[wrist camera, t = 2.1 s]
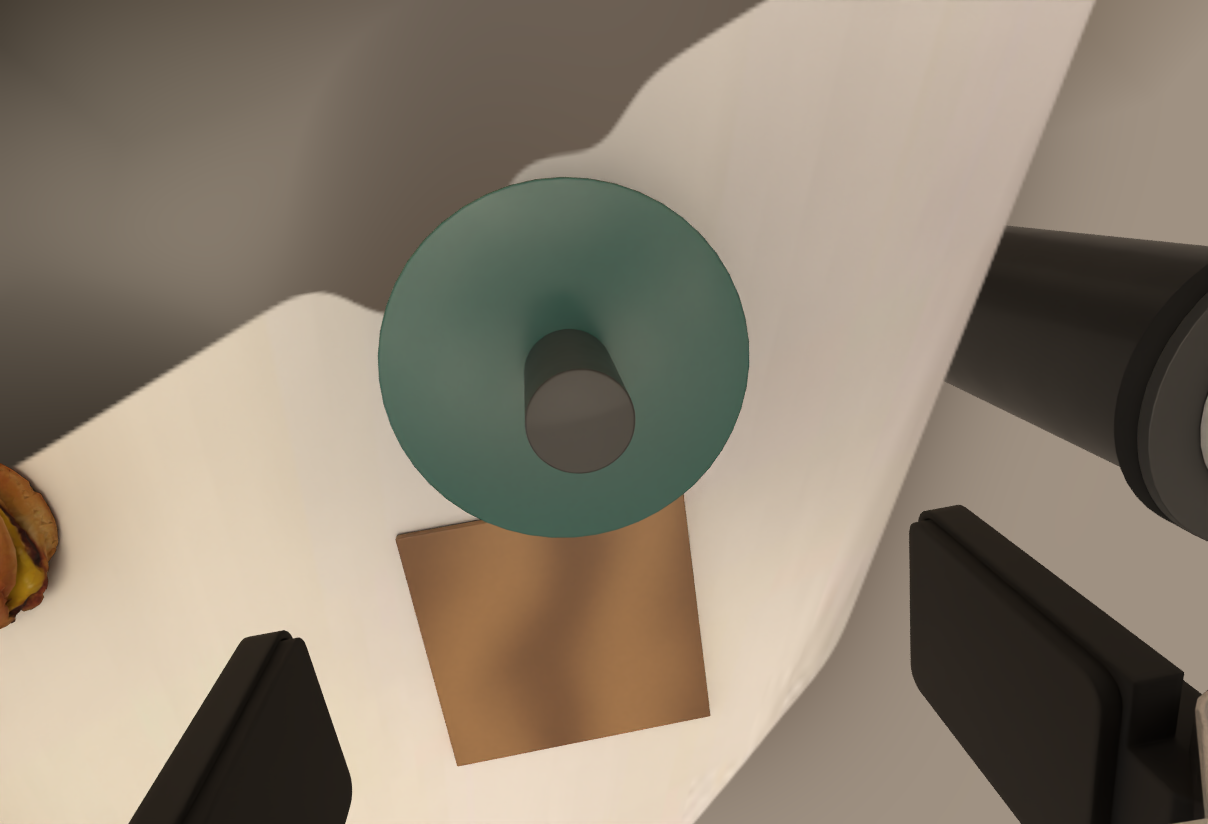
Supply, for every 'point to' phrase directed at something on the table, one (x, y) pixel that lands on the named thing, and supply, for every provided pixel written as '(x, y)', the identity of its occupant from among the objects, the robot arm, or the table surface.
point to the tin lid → (563, 357)
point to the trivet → (557, 632)
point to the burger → (23, 545)
